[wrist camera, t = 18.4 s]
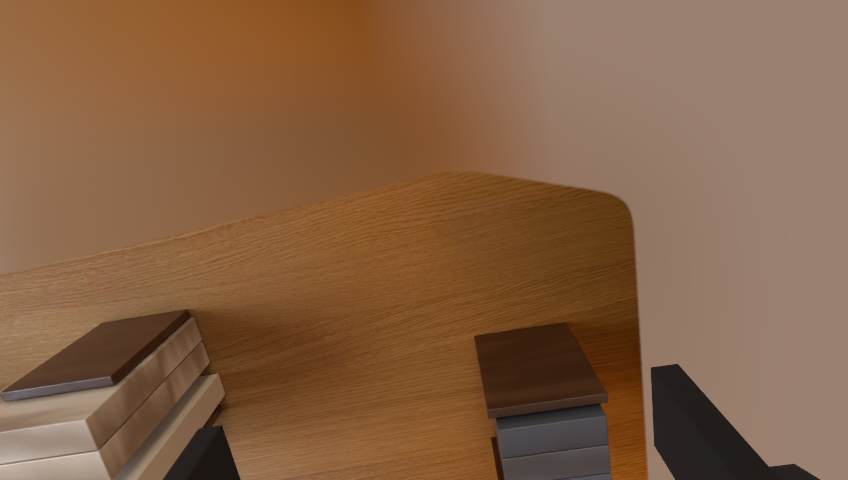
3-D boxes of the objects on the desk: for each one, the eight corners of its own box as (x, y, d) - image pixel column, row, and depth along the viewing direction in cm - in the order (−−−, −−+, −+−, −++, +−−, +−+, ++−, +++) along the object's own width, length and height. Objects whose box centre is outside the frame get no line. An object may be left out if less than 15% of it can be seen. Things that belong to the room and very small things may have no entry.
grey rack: (474, 335, 48) (488, 418, 36) (565, 322, 48) (612, 401, 35) (491, 443, 52) (510, 553, 40) (577, 432, 51) (623, 539, 39)
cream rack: (96, 323, 49) (-58, 428, 33) (192, 308, 48) (80, 407, 33) (136, 424, 52) (12, 561, 37) (226, 410, 51) (139, 544, 36)
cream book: (117, 388, 51) (-19, 515, 35) (218, 373, 50) (124, 495, 35) (125, 409, 51) (-5, 541, 36) (225, 393, 51) (136, 523, 35)
